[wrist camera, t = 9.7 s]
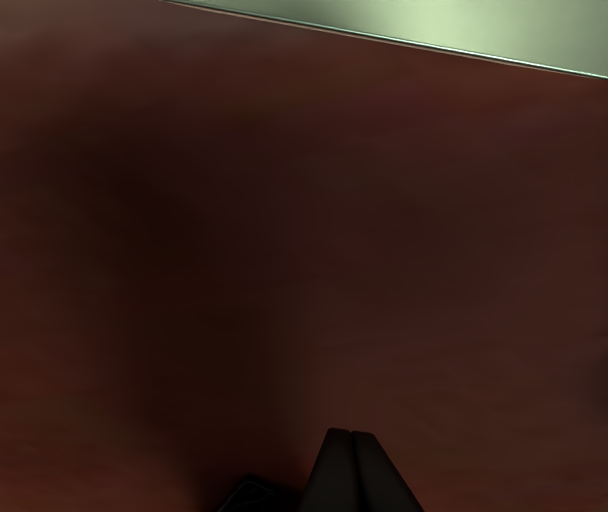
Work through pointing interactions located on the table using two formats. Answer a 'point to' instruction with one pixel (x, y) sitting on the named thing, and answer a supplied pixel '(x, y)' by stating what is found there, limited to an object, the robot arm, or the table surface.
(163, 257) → the table surface
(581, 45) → the lid
